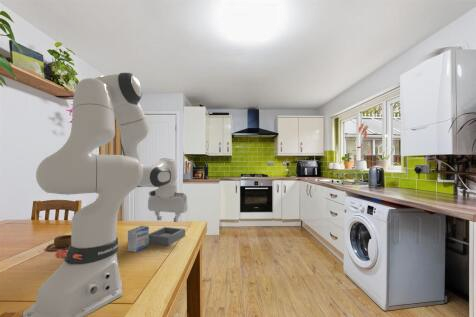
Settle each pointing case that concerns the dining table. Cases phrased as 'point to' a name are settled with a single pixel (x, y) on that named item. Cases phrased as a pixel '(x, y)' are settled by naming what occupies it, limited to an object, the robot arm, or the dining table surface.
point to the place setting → (60, 243)
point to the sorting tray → (166, 235)
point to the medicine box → (138, 238)
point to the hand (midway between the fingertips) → (167, 221)
